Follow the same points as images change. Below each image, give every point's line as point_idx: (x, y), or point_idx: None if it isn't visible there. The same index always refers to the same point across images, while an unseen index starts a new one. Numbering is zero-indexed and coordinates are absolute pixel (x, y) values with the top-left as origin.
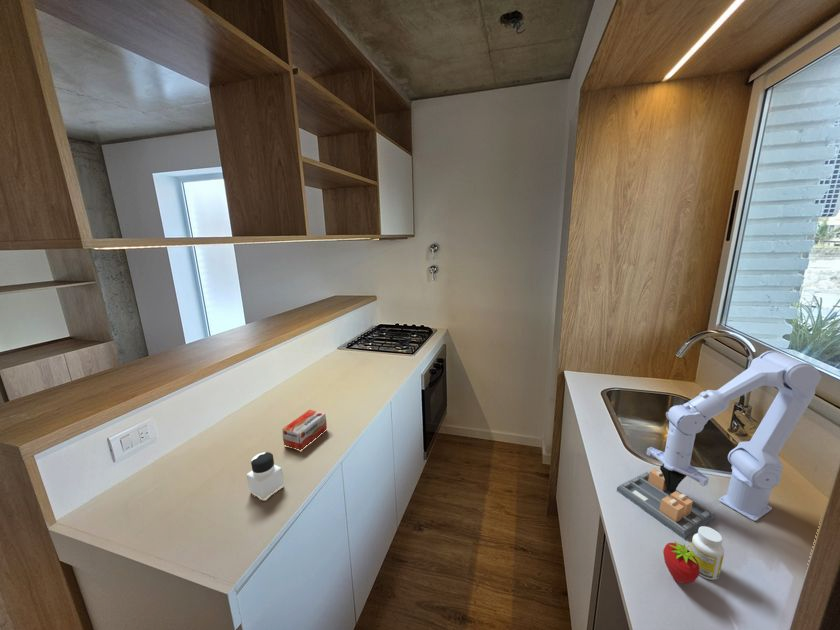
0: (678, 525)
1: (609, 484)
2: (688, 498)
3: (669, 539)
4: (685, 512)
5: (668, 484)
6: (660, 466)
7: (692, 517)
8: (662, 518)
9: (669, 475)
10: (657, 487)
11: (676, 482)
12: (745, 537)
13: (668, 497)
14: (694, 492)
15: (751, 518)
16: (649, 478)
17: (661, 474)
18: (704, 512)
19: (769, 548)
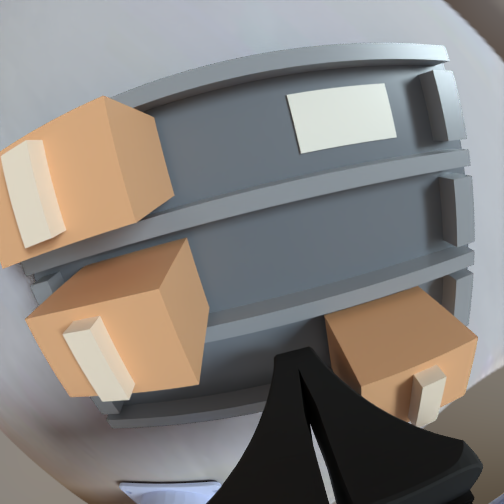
0: None
1: (464, 65)
2: (216, 412)
3: (32, 75)
4: (66, 282)
5: (309, 385)
6: (482, 468)
7: None
8: None
9: (338, 474)
10: (362, 311)
11: (240, 461)
12: (49, 413)
13: (110, 214)
14: None
15: (125, 486)
16: (435, 306)
17: (412, 403)
18: None
19: (24, 424)
